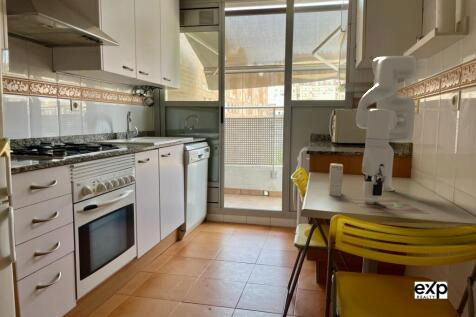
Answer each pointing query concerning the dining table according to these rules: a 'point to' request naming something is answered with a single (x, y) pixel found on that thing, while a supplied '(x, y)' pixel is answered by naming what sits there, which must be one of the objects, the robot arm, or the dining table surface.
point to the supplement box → (335, 179)
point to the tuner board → (390, 204)
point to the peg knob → (367, 192)
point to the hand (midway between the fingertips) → (372, 193)
